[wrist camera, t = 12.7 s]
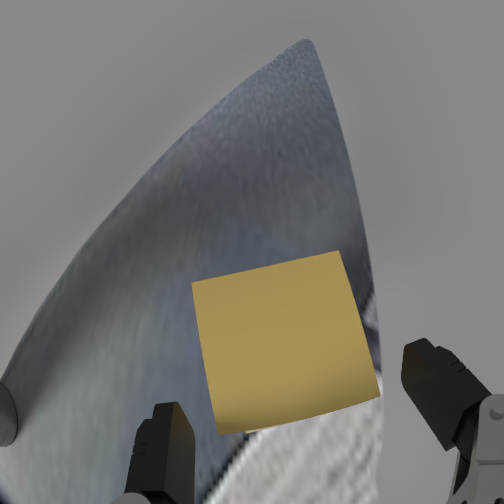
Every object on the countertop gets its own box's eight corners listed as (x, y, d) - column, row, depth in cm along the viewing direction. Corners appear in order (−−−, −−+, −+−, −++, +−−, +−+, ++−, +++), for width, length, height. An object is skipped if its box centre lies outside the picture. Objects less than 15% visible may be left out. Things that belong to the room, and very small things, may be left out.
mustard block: (249, 409, 18) (218, 435, 8) (235, 336, 20) (191, 282, 10) (326, 391, 18) (380, 396, 8) (308, 319, 20) (338, 250, 10)
